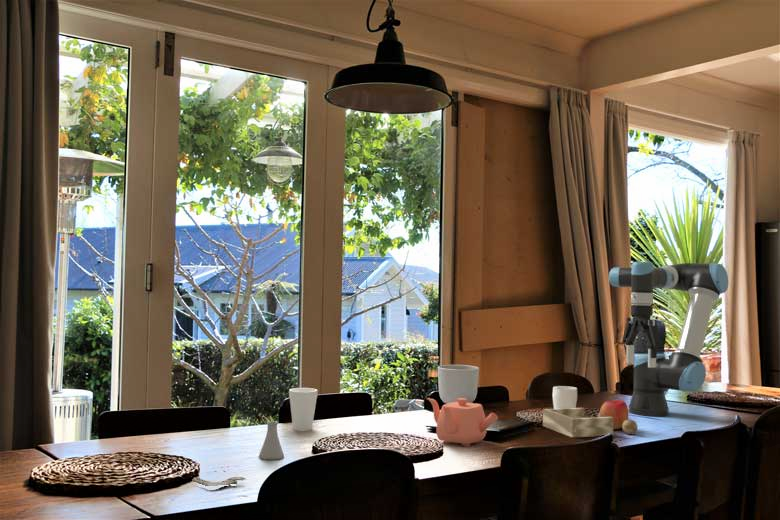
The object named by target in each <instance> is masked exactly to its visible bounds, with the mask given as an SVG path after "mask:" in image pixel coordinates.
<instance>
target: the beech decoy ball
mask: <svg viewBox="0 0 780 520" xmlns="http://www.w3.org/2000/svg"><path fill="white" fill-rule="evenodd" d="M621 428H622V430H623V432H624V433H625V434H627V435H634V434H636V432H637V431H638V428H639V427H638V424H637V422H636V421H635V420H634V419H632V418H631V419H630V418H628V419H627V420H625V421H624V422H623V424H622V427H621Z"/></svg>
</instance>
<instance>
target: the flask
mask: <svg viewBox="0 0 780 520" xmlns="http://www.w3.org/2000/svg"><path fill="white" fill-rule="evenodd" d="M278 424H279V422H278V421H275V420H274V421H270V420H269V421H267V422H266V425H267V428H266V429H267V430H266V436H265V437H264V438H265V439H264V441H263V444H262V446H261V449H260V452H259V455H258V458H259V457H260V458H259V459H261V460H267V459H268V460H267V461H272V460H281V459H283V458H285V455H284V451H283V449H282V445H281V442H280V439H279V436H278V435H279V433H278Z"/></svg>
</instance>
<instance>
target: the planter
mask: <svg viewBox="0 0 780 520" xmlns="http://www.w3.org/2000/svg"><path fill="white" fill-rule="evenodd" d="M479 374H480V367H478V366H475V365H466V364H442V365H438V366H437V379H438V380H437V382H438V393H439V394H438V395H439V397H440V400H442V402H443V403H444V404H447V403H452V402H458V401H457V399H458V398H465V399H468V400H467V403H474V401H475V399H476V398H477V394H478V387H479V386H478V384H479Z"/></svg>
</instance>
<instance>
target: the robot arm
mask: <svg viewBox="0 0 780 520" xmlns="http://www.w3.org/2000/svg"><path fill="white" fill-rule="evenodd" d="M608 280H609V283H610V285H611V286H612V287H618V288H631V289H630V290H631V291H630V292H631V293H630V295H631V297H630V303H631V305H630V315H632V317H627V318H626V326H625V329H624V333H623V336H622V339H621V342H622V343H624V344H625V352H626V356H625V357H626V359H625V361H626V364H633V393H632V396H631V398H630V401H629V405H628V413H631V414H634V415H635V414H636V415H640V416H646V417H647V416H648V417H664V416H668V415H669V414H670V409H669V405H668V402H667V399H666V398H667V397H666V395H665V389H666V390H673V391H679V392H683V393H688V392H689V393H694V392H698V391H699V390H700V389H701V388H702V386H704V383H705V380H706V376H707V373H706V372H707V368H706V366H705V364H704V363H703V361H704V360H703V359H702V357H701V351H702V349H703V344H704V340H705V336H706V332H707V329H708V324H709V321H710V317H711V313H712V309H713V306H714V302H716V301H718V300H719V298H720V294H724V293H726V292H727V291H728V288H729V276H728V272H727V269H726V268H725V266H724V265H723V264H721V263H713V262H710V263H708V262H707V263H701V262H699V263H697V262H695V263H694V262H685V263H684V262H683V263H677V264H669V265H668V264H667V265H662V266H661V267H655V265H654V263H653V262H652V261H633V262H632V264H631V267H625V266H624V267H621V266H619V267H618V266H617V267H616V266H615V267H613V268H612V267H611V269H610V271H609V274H608ZM654 289H667V290H668V289H669V290H676V291H679V292H680V291H681V292H688V295H689V296H690V299H689V302H688V306H687V309H686V313H685V317H684V321H683V324H682V329H681V333H680V336H679V340H678V344H677V348H676V350H674V351H671V354H670V357H669V358H666V355H665V354H661V353H660V354H658V352H657V350H658V349H659V348H662V343H661V339H660V334H659V330H658V327H657V325H658V321H657V320H656V319H651V317H652V316H653V313H654V311H653V310H654V309H653V308H654V307H653V304H654ZM639 332H642V333H643V334H644V336H645V338H646V341H647V345H648V346H649V347H648V349H647V352H648V353H647V354H642V355H637V356H635V343H634V342H635V340H636V337H637V335H638V334H639Z"/></svg>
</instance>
